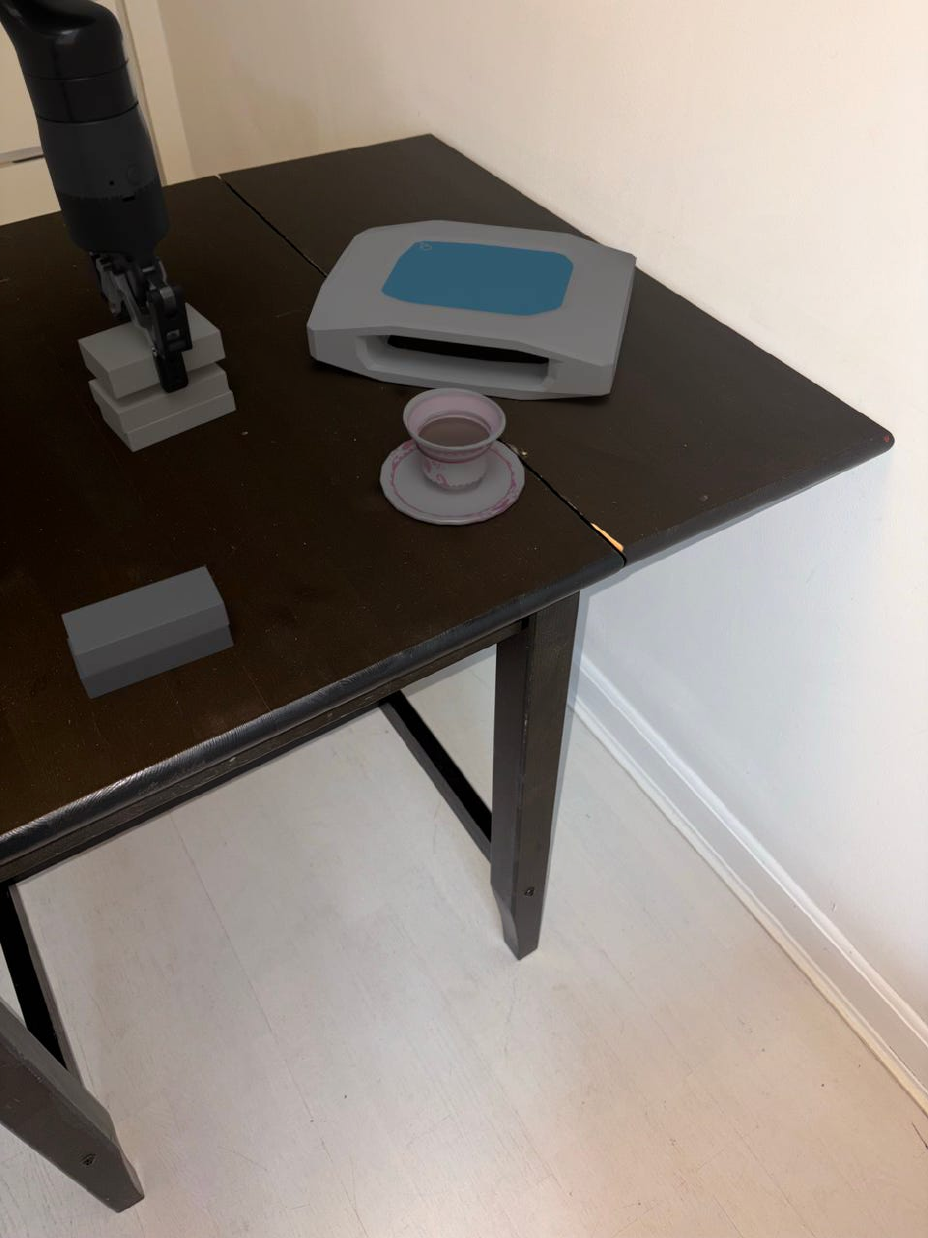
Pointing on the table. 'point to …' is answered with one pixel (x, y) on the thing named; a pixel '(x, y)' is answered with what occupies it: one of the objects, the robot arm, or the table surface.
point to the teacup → (452, 460)
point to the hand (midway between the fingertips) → (158, 370)
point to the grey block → (165, 407)
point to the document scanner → (476, 308)
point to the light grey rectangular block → (144, 354)
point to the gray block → (147, 631)
